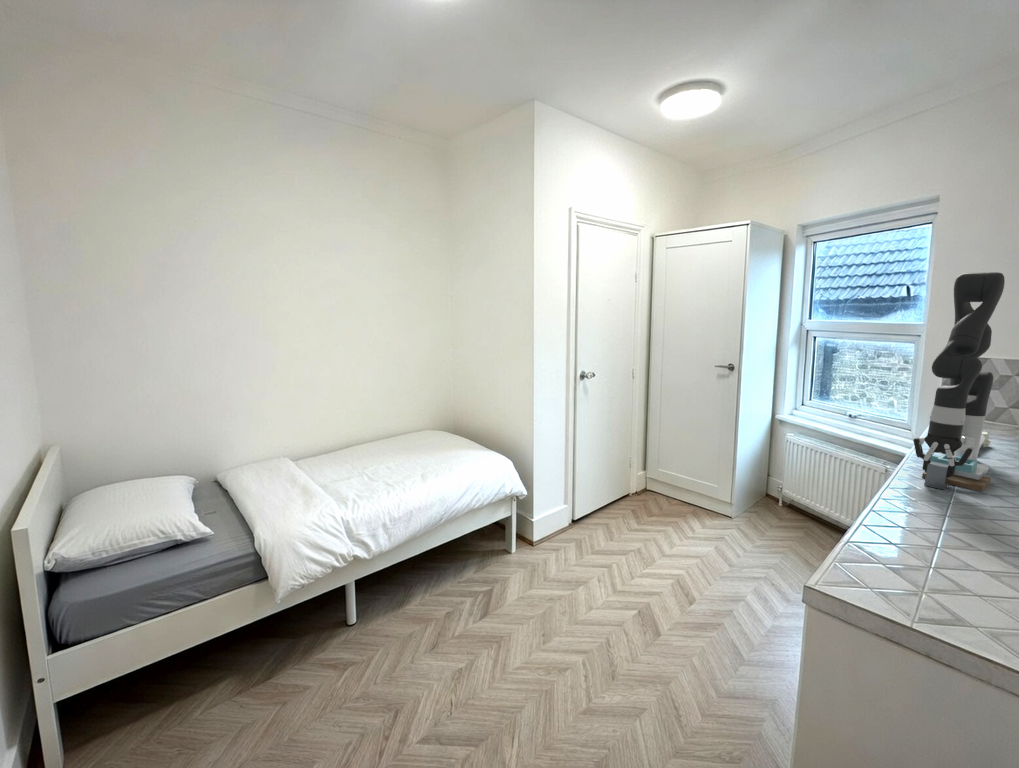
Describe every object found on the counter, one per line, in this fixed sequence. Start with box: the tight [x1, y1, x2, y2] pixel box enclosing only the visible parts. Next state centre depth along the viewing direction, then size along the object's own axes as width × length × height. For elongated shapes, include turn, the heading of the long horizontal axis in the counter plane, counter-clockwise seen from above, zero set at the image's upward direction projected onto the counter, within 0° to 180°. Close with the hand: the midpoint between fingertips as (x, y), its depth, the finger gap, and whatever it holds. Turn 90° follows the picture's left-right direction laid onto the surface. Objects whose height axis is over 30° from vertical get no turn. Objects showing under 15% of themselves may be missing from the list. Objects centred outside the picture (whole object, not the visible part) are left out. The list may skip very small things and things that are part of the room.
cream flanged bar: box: [979, 431, 992, 450], centre depth 184 cm, size 5×7×25 cm
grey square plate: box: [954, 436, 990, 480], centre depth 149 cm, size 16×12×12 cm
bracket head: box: [930, 454, 979, 473], centre depth 148 cm, size 8×11×2 cm
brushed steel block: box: [923, 461, 948, 490], centre depth 143 cm, size 4×4×7 cm
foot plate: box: [921, 471, 992, 492], centre depth 150 cm, size 14×14×2 cm
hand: (937, 474), depth 143 cm, fingers closed on brushed steel block, 4 cm apart
